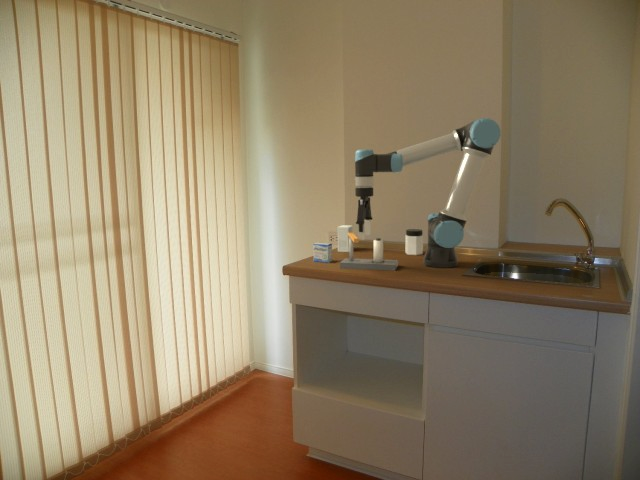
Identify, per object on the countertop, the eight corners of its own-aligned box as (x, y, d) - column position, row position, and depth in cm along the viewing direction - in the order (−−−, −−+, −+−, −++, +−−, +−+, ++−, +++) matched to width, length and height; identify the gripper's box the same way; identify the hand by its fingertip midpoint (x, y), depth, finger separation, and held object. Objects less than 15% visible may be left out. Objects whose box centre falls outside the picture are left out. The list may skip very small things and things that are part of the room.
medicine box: (313, 261, 232) (312, 243, 231) (317, 259, 236) (317, 242, 235) (328, 263, 229) (327, 244, 227) (332, 261, 233) (332, 243, 231)
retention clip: (359, 242, 201) (359, 238, 200) (352, 242, 200) (352, 238, 200) (353, 236, 218) (353, 232, 218) (347, 236, 218) (347, 232, 217)
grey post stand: (397, 266, 218) (398, 236, 216) (395, 271, 208) (395, 240, 206) (345, 264, 224) (344, 235, 222) (340, 269, 215) (339, 238, 213)
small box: (341, 248, 265) (341, 224, 262) (353, 249, 262) (353, 225, 260) (337, 251, 257) (336, 226, 255) (348, 252, 255) (348, 227, 253)
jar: (413, 255, 242) (413, 231, 240) (401, 253, 249) (402, 230, 247) (426, 253, 247) (426, 230, 245) (414, 251, 254) (415, 228, 252)
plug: (383, 266, 217) (383, 237, 215) (382, 268, 213) (382, 239, 211) (374, 266, 218) (374, 237, 216) (372, 268, 214) (372, 239, 212)
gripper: (361, 185, 218) (361, 232, 222) (349, 188, 195) (349, 241, 198) (378, 185, 216) (378, 233, 219) (367, 188, 192) (367, 242, 196)
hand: (364, 237), depth 209 cm, fingers open, 13 cm apart
